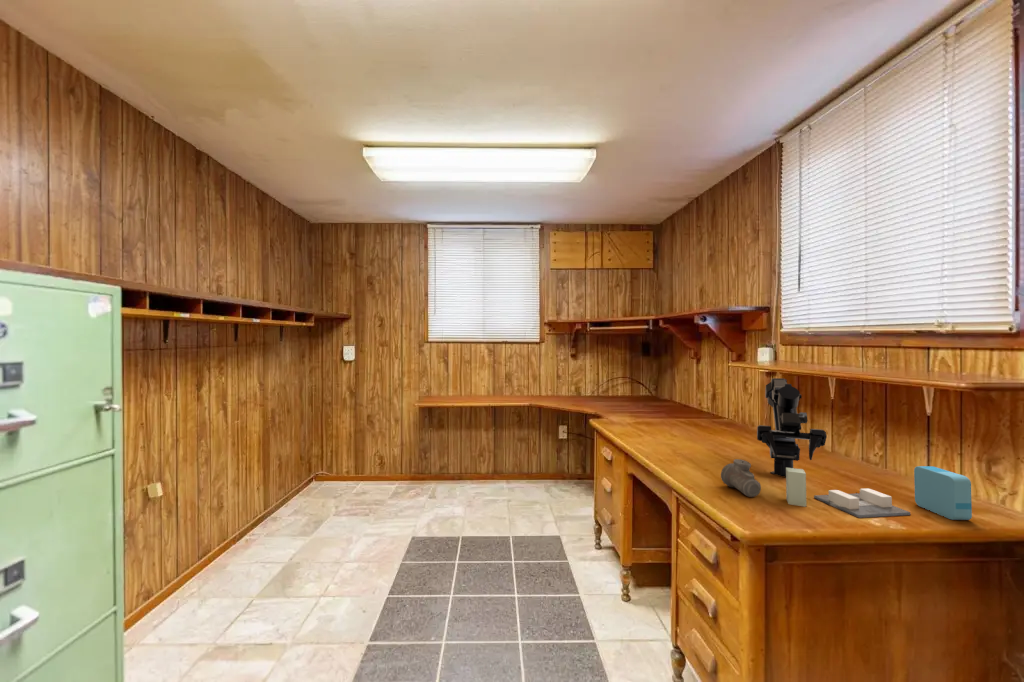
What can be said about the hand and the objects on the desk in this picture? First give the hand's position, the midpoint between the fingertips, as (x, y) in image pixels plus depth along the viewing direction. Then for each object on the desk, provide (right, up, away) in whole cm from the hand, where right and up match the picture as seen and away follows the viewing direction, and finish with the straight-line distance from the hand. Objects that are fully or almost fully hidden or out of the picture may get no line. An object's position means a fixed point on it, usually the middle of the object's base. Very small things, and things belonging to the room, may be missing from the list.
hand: (793, 457), depth 129 cm
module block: (-2, -13, -4) cm, 14 cm away
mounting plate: (+15, -12, -7) cm, 21 cm away
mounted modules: (+15, -12, -7) cm, 21 cm away
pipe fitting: (-13, -13, +6) cm, 19 cm away
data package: (+34, -12, -13) cm, 38 cm away
